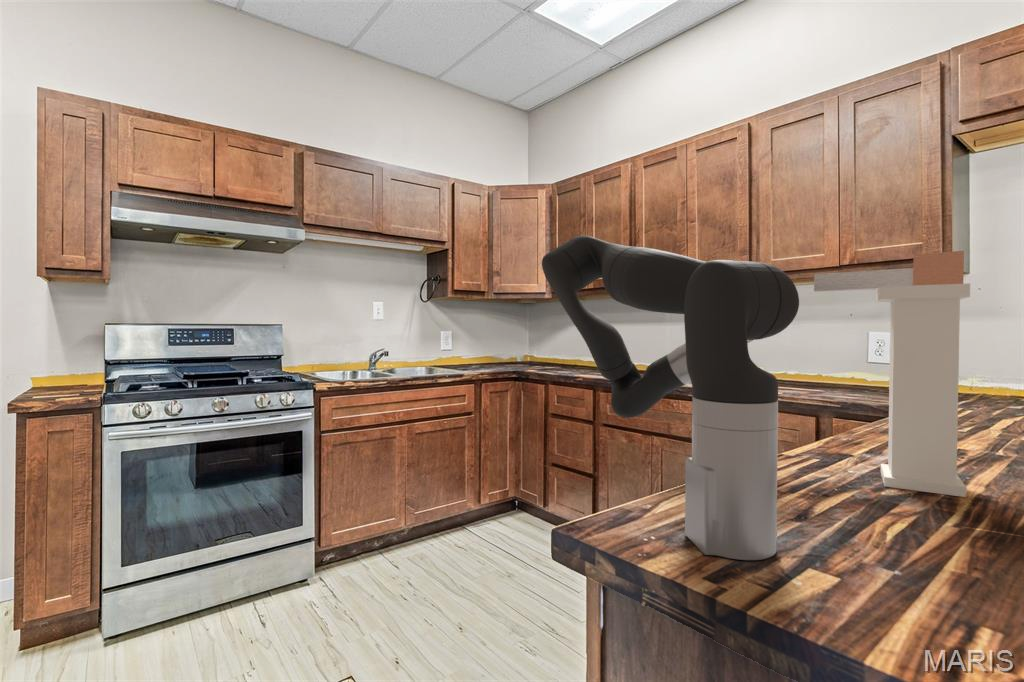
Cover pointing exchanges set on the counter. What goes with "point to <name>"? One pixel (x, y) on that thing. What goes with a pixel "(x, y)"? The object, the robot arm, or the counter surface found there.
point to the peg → (898, 274)
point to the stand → (923, 387)
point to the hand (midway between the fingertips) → (776, 316)
